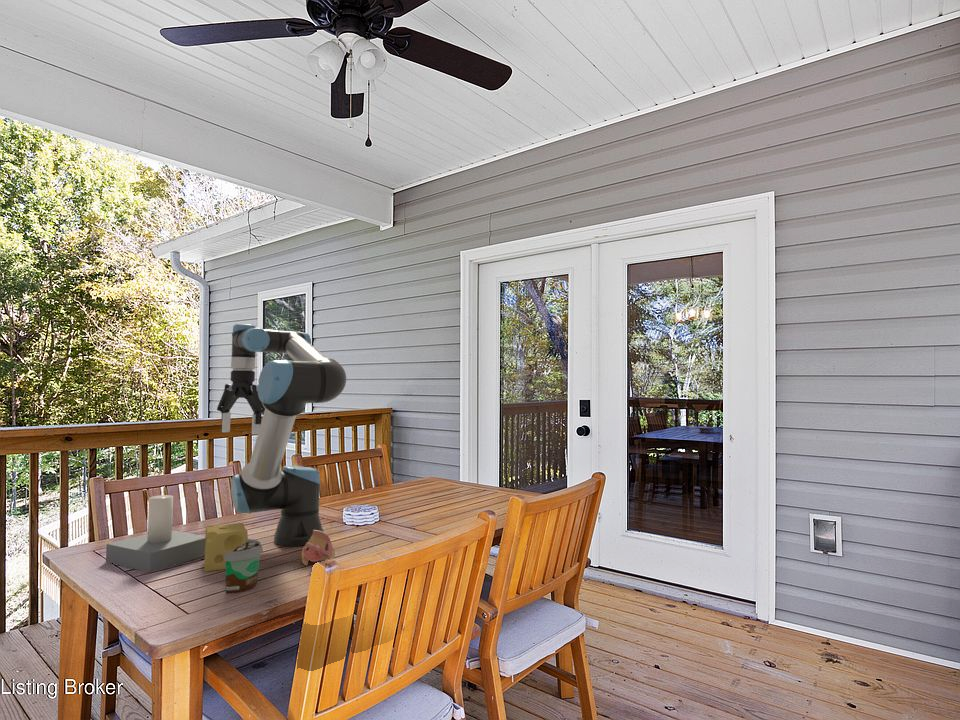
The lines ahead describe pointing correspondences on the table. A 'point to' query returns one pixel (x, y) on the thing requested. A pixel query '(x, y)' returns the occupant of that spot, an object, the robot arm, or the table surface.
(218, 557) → the cheese
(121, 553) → the plinth
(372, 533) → the table surface
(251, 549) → the food container
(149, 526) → the ceramic jar
